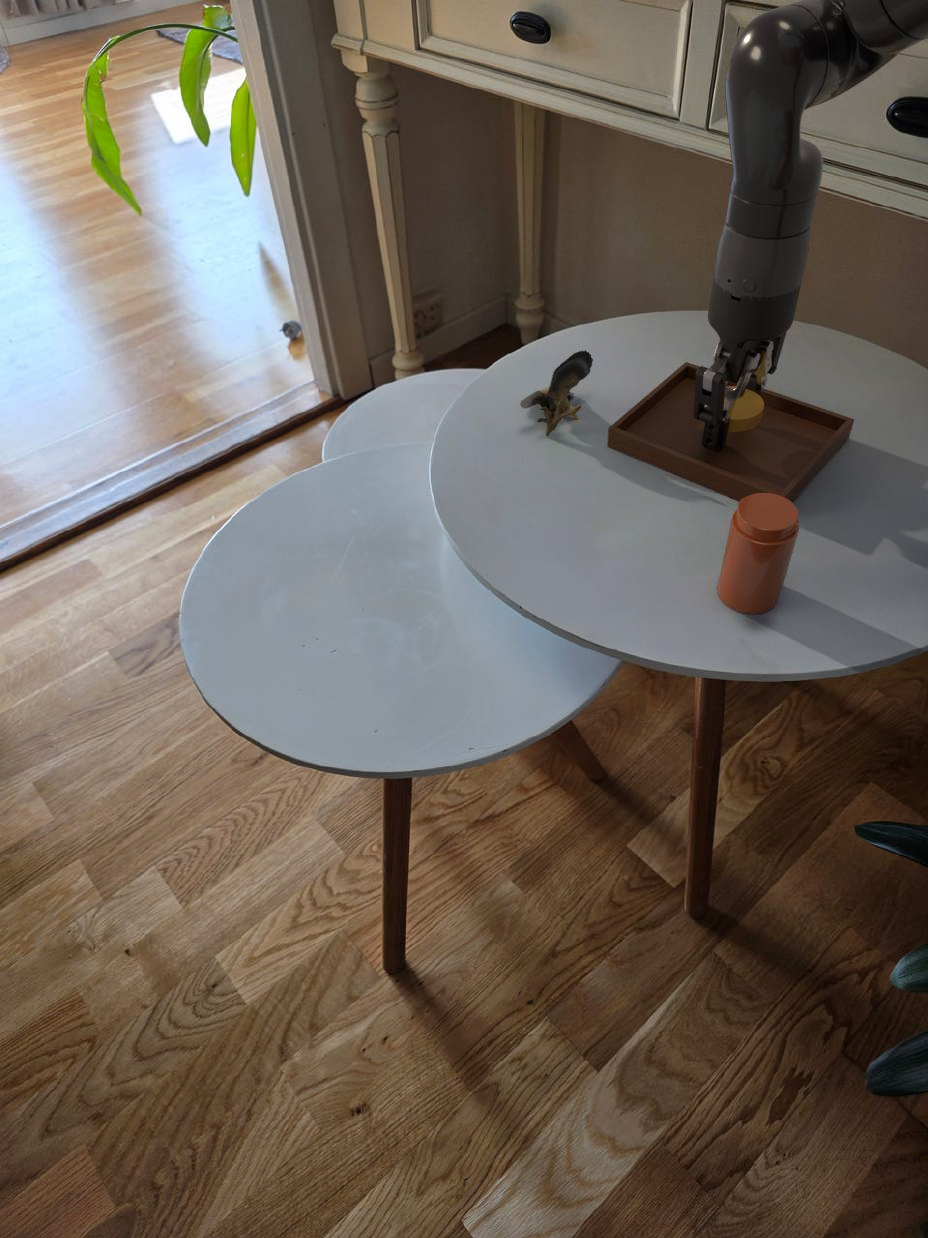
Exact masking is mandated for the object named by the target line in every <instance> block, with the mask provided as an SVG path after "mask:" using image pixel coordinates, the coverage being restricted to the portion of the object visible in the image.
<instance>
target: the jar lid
mask: <svg viewBox="0 0 928 1238" xmlns="http://www.w3.org/2000/svg"><path fill="white" fill-rule="evenodd" d="M726 387H729V388H732V389H736V386H726ZM726 401H727V398H726V397H725V398H724V407H725V404H726ZM763 409H764V401H763V399H762V398H761V397H760V396H759V395H758V394H757V393H755V392H753V391H751V390H748V389H746V390H745V393H744V395H743V397H742V398H741V399H738V400H737V401H736V403H735V405H734V408H733V411H732V414H731V417H730V422H729V428H728V432H743V431H747V430H750V429H752V428H754V427H756V426H758V424H759V423H760V421H761V420H762V418H763V413H764V411H763Z"/></svg>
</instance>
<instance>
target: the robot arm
mask: <svg viewBox="0 0 928 1238" xmlns="http://www.w3.org/2000/svg"><path fill="white" fill-rule="evenodd" d="M926 39H928V0H798V1H795V2H794V1H793V2H791V3H789V4H785V5H782V6H779V7H775V8H773V9H769V10H767V11H765V12H762V13H760V14H758V15H757V16H755V17H754V18H753V19H751V21H749V23H748V24H747V25H746V26H745V27H744V28H743V29H742V31H741V32H740V33H739V35H738V37H737V39H736V41H735V43H734V46H733V48H732V51H731V54H730V56H729V59H728V63H727V67H726V73H725V82H724V97H725V111H726V121H727V130H728V131H727V132H728V144H729V152H730V158H731V159H730V160H731V166H732V167H731V168H732V174H731V179H730V183H729V189H728V196H727V203H726V210H725V216H724V222H723V226H722V230H721V233H720V237H719V240H718V246H717V251H716V257H715V263H714V264H715V265H714V270H713V277H712V284H711V289H710V290H711V291H710V292H711V293H710V296H709V304H708V310H707V311H708V312H707V321H708V323H709V325H710V327H711V328H712V329H713V330H714V331H715V332H716V334H717V336H718V337H719V341H718V343H717V345H716V347H715V350H714V353H713V356H712V359H713V363H712V364H711V365H710V367H706V366H703V365H699V366H700V367H699V369H698V370H697V372H696V380H695V398H694V419H697V420H701V421H703V422H705V426H704V432H703V438H702V445H703V447H705V448H707V449H709V450H712V451H715V452H718V453H719V452H721V451H722V450H723V449H724V448H725V444H726V439H727V433H728V428H729V422H730V417H731V414H732V411H733V408H734V405H735V403H736V401H737V400H738V399H741V398H742V397H743V395H744V393H745V390H746V389H748V390H751V391H753V392H755V393H757V394H758V395H759V396H760V395H761V390H762V389H761V388H765V386H766V385H767V383H768V374H769V375H774V374H775V372H776V371H777V370H778V369H777V368H778V363H779V360H780V356H781V353H782V350H783V346H784V343H785V340H786V336H787V332H788V331H789V330H790V329H791V328H792V325H793V322H794V319H795V314H796V309H797V306H798V301H799V296H800V292H801V287H802V284H803V280H804V275H805V274H804V273H805V270H806V266H807V261H808V255H809V250H810V240H811V230H812V223H813V218H814V215H815V211H816V207H817V202H818V197H819V192H820V188H821V183H822V178H823V171H824V157H823V155H822V151H821V150H820V149H819V147H818V146H817V145H815V144H814V143H813V142H811V141H809V140H807V139H804V138H801V126H802V125H801V123H802V119H803V115H804V111H806V110H808V109H811V108H814V107H816V106H818V105H822V104H824V103H826V102H829V101H831V100H833V99H835V98H837V97H839V96H841V95H843V94H844V93H846V92H849V90H851V89H853V88H854V87H856V86H858V85H859V84H861V83H862V82H864V81H865V80H867V79H868V78H870V77H871V76H873V75H874V74H875V73H876V72H877V71H879V70H880V69H882V68H883V67H885V65H887V64H888V63H890V62H891V61H892V60H894V59H895V58H896V57H897V56H898V55H899V54H901V53H902V52H903V51H905V50H907V49H909V48H911V47H913V46H915V45H917V44H919V43H921V42H922V41H925V40H926ZM728 382H730V383H733V384H737V387H736V389H732V388H729V387H726V386H727V384H728ZM725 397H726V398H727V401H726V404H725V407H724V398H725Z"/></svg>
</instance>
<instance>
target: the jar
mask: <svg viewBox="0 0 928 1238" xmlns="http://www.w3.org/2000/svg"><path fill="white" fill-rule="evenodd" d="M799 522H800V519H799V510H798V508H797V506H796V505H795V504H794V502H791V501H790V500H788V499H786V498H785V497H782V496H780V495H777V494H772V493H756V494H752V495H749V496H746V497H745V498H743V499H741V500H740V501H738V502H737V508H736V510H735V511H734V512H733V514H732V516H731V520H730V525H729V529H728V533H727V539H726V544H725V549H724V552H723V557H722V563H721V567H720V572H719V577H718V582H717V587H716V588H717V589H716V590H717V596H718V597H719V599H720V601H721V602H722V603H723V604H724V605H725V606H727V607H728V608H729V609H731V610H733V611H736V612H739V613H742V614H747V615H759V614H763V613H766V612H769V611H771V610H772V609H774V608H775V607H776V606H777V605H778V604H779V601H780V597H781V594H782V590H783V587H784V584H785V581H786V577H787V574H788V569H789V566H790V563H791V560H792V556H793V552H794V548H795V545H796V541H797V538H798V535H799V532H800V523H799Z"/></svg>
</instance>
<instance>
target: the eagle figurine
mask: <svg viewBox="0 0 928 1238" xmlns="http://www.w3.org/2000/svg"><path fill="white" fill-rule="evenodd" d="M593 361H594V359H593V357H592V354H591V353H590V352H589V351H588V350H579V351H576V352H573V354H571V355H570V356H569V357H568V358H566V359H565V360H563V361H562V362H561V363H560V364H559V365H558V366H557V367H556V368H555V369H554V371H553V372H552V374H551V375H552V376H551V380H550V382H549V383H550V384H549V385H548V386H547V387H544V388H542V389H540V390H536V391H534V392H531V393H529V394H528V395H526V396H524V397H522V398H521V399H520V402H519V406H520V407H521V408H522V409H529V408H532V407H533V406H536V405H537V406H540V407H539V410H540V411H542V412H543V414H544V417H545V418H544V417H539V418H538V419H536V422H538V423H545V424H546V431H545V437H549V436H550V435H551V433H552V432H553V431H555V430H556V428H557V427H558V424H559V423H560V422H561V421H562V420H563V419H565V418H567V417H569V416H570V417H572V418H574V419H576V420H579V417H578V414H577V413H578V412H579V411H580V409H581V408H582V407H583V406H582V405H581V404H578V405H577V406H575V407H574V406H573V405H572V404H571V403H570V402H569V399H568V397H569V396H574V395H575V393H574V392H571V390H573V388H575V387H577V386H578V385H579V383H580V382H581V381H582V380H584V379H586V378H587V377H588V376H589V375H590V373H591V368H592V367H593Z"/></svg>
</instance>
